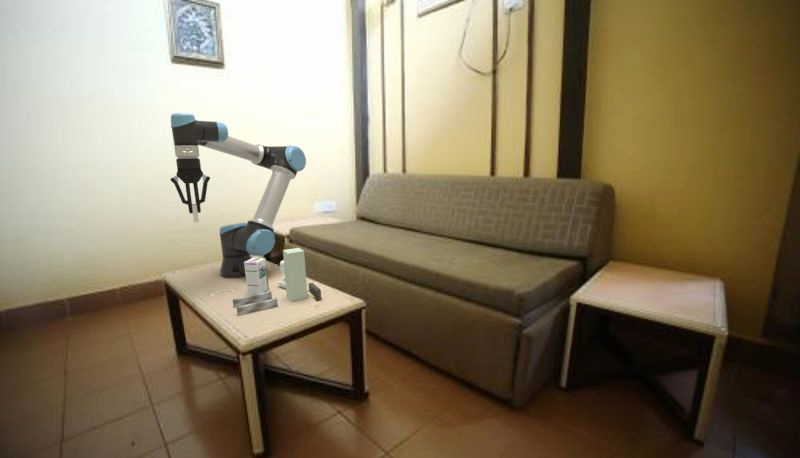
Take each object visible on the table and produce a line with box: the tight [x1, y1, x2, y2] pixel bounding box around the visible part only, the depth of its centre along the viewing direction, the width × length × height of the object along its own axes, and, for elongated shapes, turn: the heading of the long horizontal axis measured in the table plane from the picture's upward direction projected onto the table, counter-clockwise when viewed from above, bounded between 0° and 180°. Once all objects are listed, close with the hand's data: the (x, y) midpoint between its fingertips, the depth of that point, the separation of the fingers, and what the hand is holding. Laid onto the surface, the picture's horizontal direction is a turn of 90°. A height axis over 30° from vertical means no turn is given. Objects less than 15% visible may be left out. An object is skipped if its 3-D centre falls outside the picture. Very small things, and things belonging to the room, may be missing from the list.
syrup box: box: [244, 257, 270, 295], centre depth 140 cm, size 6×6×14 cm
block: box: [282, 247, 308, 303], centre depth 134 cm, size 6×6×18 cm
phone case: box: [210, 288, 234, 297], centre depth 139 cm, size 7×1×15 cm
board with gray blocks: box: [232, 282, 323, 317], centre depth 132 cm, size 30×10×4 cm, turn 123°
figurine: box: [276, 259, 286, 290], centre depth 146 cm, size 7×9×15 cm
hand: (196, 221), depth 137 cm, fingers closed
